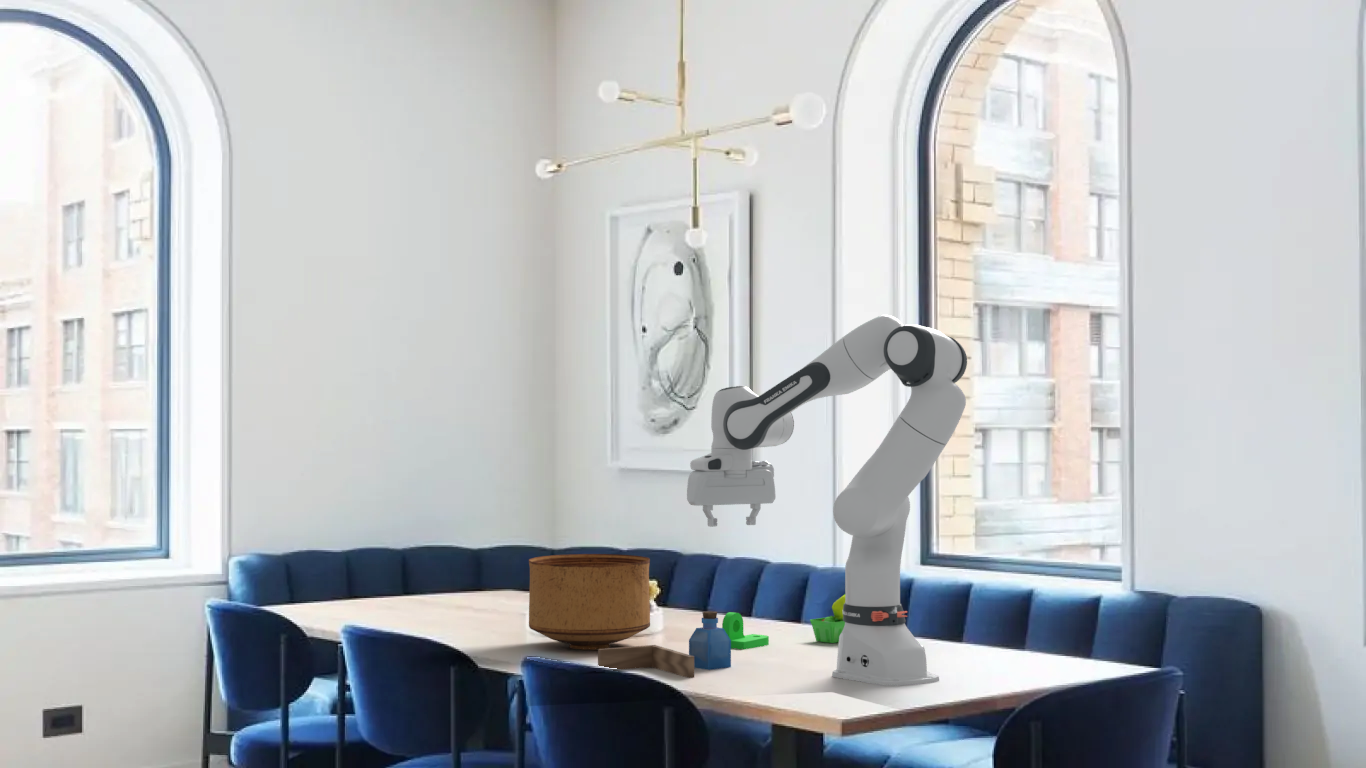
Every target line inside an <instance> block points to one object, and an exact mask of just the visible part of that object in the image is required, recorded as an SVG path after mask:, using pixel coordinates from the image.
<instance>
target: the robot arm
mask: <svg viewBox="0 0 1366 768" xmlns="http://www.w3.org/2000/svg"><path fill="white" fill-rule="evenodd" d="M967 367H968V358H967V353H966V350H965V348H964V347H963V345H961V343H959V342H958V340H956V339H955V338H954V337H952V336H948V335H945V334H944V333H942V332H941V331H940V330H937V329H934V328H931V327H928V326H927V327H926V326H923V325H919V324H912V323H911V324H909V323H908V324H905V325H904V324H903V322H901V321H900V320H899V319H898V318H896V317H895V316H892V315H888V314H881V315H879V316H877V317H874V318H872V319H870V320H868V321H866V322H864V323H862V324H860V325H859V326H857V327H856V328H854V329H853V330H852V329H851V331H850V332H848V333H846V334H845V335H844V336H842V337H841V338H840V339H838V340H836V342H834V344H832V345H830V346H829V347H828V348H827V349H826V350H825V351H823V352H822V353H821V354H820V355H818V356H817V357H816V358H814V359H813V360H811V361H810V362H809V363H807V364H806V365H805V366H802V368H800V370H798V371H796V372H795V373H793V374H792V375H790V376H788V377H787V378H785V379H783V380H782V381H781V382H779V383H778V384H775V385H774V386H773V387H771V388H770V389H768V390H767V391H765V392H764V393H762V394H761V395H758V394H756V393H755V392H754V391H752V390H751V389H750V388H749V387H748V386H745V385H736V386H729V387H725V388H721V389H719V390H718V391H716V392H715V393H714V397H713V399H712V403H711V404H712V406H711V432H712V436H713V437H712V443H711V452H710V453H708V454H705V455H703V456H701V457H697V458H694V459H692V460H691V461H690V464H689V466H690V469H691V470H692V472H690V474H689V475H688V479H687V486H686V487H687V488H686V499H687V500H686V501H687V502H688V504H689V505H690V506H696V507H697V506H698V507H699V506H700V507H701V506H702V511H703V513H704V516H705V517H706V518H707V526H708V527H710V528H711V527H718V518H717V517H714V515H713V514H712V511H713V510H714V506H726V505H727V506H731V505H732V506H733V505H749V506H750V509H752V510H751V512H750V513H749V516H745V520H746V522H745V525H747V526H755V525H756V524H757V523H756V522H757V516H758V515H759V513H760V510H761V506H762V505H763V504H764V505H765V504H767V505H768V504H773V503H774V502H775V500H776V486H775V479H774V478H775V469H774V466H773V465H772V464H771V463H770V462H768V461H767V460H761V461H757V460H755V461H754V460H753V449H755V448H768V447H771V448H772V447H777V446H781V445H783V444H785V443H787V442H788V441H789V440H790V438H791V436H792V435H793V433H794V428H795V421H794V416H793V414H792V412H793V411H795V410H797V409H798V408H800V407H801V406H803V405H805V404H807V403H809V402H812V401H815V400H817V399H823V398H827V397H833V396H834V397H835V396H842V395H848V394H851V393H854V392H855V391H858V390H860V389H862V388H864V387H866V386H868V385H869V384H871V383H873V382H874V381H875V380H877V379H879V377H880V376H882V375H884V374H886V372H888V371H890V370H892V371H893V373H894V374H895V376H897V377H898V379H899V380H900V382H901V384H902V385H903V386H904V387H907V388H909V387H910V389H911V391H910V397H909V399H908V400H907V402H906V404H905V406H904V407H903V409H902V410H901V412H900V413H899V415H898V417H897V418H896V419H895V421H894V423H893V425H892V426H891V428H890V429H889V430H888V431H887V434H886V435H885V437H884V438H883V440H882V442H881V443H880V444H879V446H878V447H877V448H876V450H875V451H874V453H872V455H871V456H870V458H869V459H868V460H866V461H865V463H864V464H863V465H862V466H861V468H860V469H859V470H858V471H857V473H856V474H855V475H854V477H852V479H851V480H850V481H849V483H848V484H847V486H846V487H845V488H844V489H843V490H842V491H841V492H840V493H839V494H838V496H837V497H836V498H835V500H834V504H833V508H832V509H833V510H832V512H833V519H834V521H835V523H836V525H837V526H838V528H840V529H841V530H842V531H843V532H845V533H846V534H849V535H850V536H852V540H851V544H850V549H849V554H848V557H847V559H846V563H845V571H844V572H845V573H844V574H845V575H844V576H845V581H844V584H845V585H844V588H845V590H844V591H845V593H844V594H845V604H844V605H843V621H844V622H845V626H844V629H843V631H842V633H841V634H840V636H839V642H838V647H837V648H838V649H837V660H836V669H835V670H833V671H832V674H831V676H832V677H833V678H837V679H842V678H843V679H844V680H848V679H849V681H854V680H856V681H855V682H860V681H861V683H867V684H872V685H878V686H911V685H922V684H930V683H937V682H940V676H939V675H937V674H936V673H935V674H934V673H932V672H929V671H928V666H927V665H928V664H927V654H926V650H925V649H926V648H925V646H923V645H921V643H919V641H918V639H916V637H915V636H914V635H913V633H912V632H911V631H910V629H909V628H908V627H907V625H906V622H907V619H906V618H907V617H908V615H906V614H907V613H908V611H907V610H904V608H903V605H902V603H901V563H902V554H903V553H902V552H903V548H904V543H905V535H906V529H907V520H908V517H909V515H910V512H911V511H910V510H911V502H910V501H911V500H910V498H909V496H910V494H911V493H912V492H913V491H914V490H915V488H916V487H917V486H918V485H919V484H920V483H921V482H922V481H923V480H924V479H925V478H926V477H927V475H928V473H930V471H931V469H932V467H933V466H934V465H935V463H936V462H937V460H938V459H939V457H940V455H941V453H942V452H943V450H944V449H945V447H946V446H947V444H948V443H949V441H950V439H951V438H952V436H953V434H954V432H955V430H957V427H958V425H959V422H960V420H961V417H962V415H963V414H964V411H965V408H966V403H967V399H966V395H965V394H964V392H963V390H962V389H961V388H960V386H959V385H958V384H956V383H957V382H958V381H960V380H961V378H963V376H964V374H965V372H966V370H967Z"/></svg>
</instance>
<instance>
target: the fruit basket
mask: <svg viewBox="0 0 1366 768" xmlns="http://www.w3.org/2000/svg"><path fill="white" fill-rule="evenodd" d="M844 604H845V593H844V594H843V595H842V596H841V597H838V599H836V600H835V601H834V602H833V604H832V606H831V610H832V612H833V615H829V616H826V617H820V618H819V617H818V618H812V619H809V622H810V624H811V626H812V627H811V628H812V630H813V635H814V638H815V641H816V642H821V643H829V644H830V643H831V644H836V643H837V644H838V643H839V636H840V634H841V633H842V631H843V629H844V626H845V622H844V621H843V605H844Z"/></svg>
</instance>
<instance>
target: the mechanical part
mask: <svg viewBox="0 0 1366 768" xmlns="http://www.w3.org/2000/svg"><path fill="white" fill-rule="evenodd" d="M721 624H722V626H721V628H723V629H724V630H725V632H726V633H727V635H728V637H729V638H730V640H731V649H734V648H737V649H738V650H748V649H754V648H755V649H756V648H760V646H761V647H765V646H764V645H766V646H770V645H769V642H770V640H769V638H770V637H769V636H768V635H765V634H756V633H751V634H745V635H744V618H743V617H742V615H741V613H739V612H734V611H733V612H731V611H730V612H729V611H728V612H727V613H726V614H725V615H724V617H723V619H722V623H721Z"/></svg>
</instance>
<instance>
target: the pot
mask: <svg viewBox="0 0 1366 768" xmlns="http://www.w3.org/2000/svg"><path fill="white" fill-rule="evenodd" d="M650 562H651V559H650V557H647V556H641V555H631V554H630V555H629V554H618V553H617V554H615V553H611V554H609V553H580V554H579V553H575V554H574V553H570V554H553V555H542V556H537V557H532V558H529V559H528V565H529V594H528V595H529V597H528V599H529V600H528V603H529V604H528V627H529V629H531V630H532V631H535V632H536V633H538V634H540V635H542V636H544V637H546V638H549V639H550V640H553V641H556V642H560V643H563V644H567V645H569V647H568V648H570V649H575V650H584V651H585V650H598V649H606V648H611V645H610V644H615V643H618V642H622V641H624V640H627V639H630V638H632V637H633V636H635V635H637V634H639V633H641V632H643V631H645V630H647V629H648V628H650V627H651V603H650V601H651V600H650V564H651V563H650Z"/></svg>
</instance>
